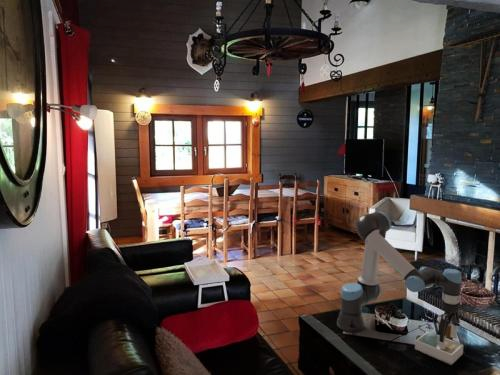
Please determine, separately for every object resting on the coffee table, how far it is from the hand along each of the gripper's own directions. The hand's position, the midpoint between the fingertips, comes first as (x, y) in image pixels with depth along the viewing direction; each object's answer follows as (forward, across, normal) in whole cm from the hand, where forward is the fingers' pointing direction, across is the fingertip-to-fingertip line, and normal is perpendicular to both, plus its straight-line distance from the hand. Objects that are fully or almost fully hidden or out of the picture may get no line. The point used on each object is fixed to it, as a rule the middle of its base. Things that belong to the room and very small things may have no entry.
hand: (447, 342), depth 189 cm
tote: (+7, 0, +4) cm, 8 cm away
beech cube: (+6, 0, 0) cm, 6 cm away
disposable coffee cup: (+7, +14, +6) cm, 17 cm away
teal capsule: (+6, 0, +8) cm, 10 cm away
